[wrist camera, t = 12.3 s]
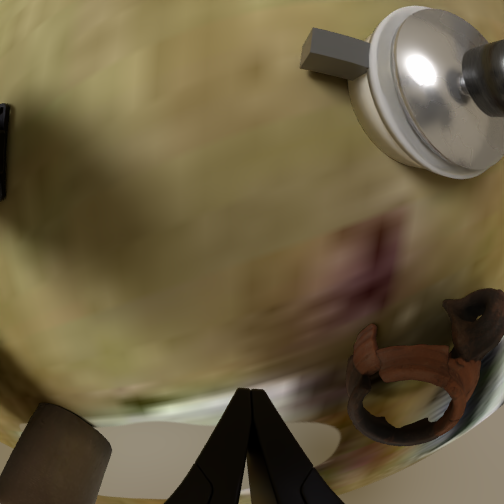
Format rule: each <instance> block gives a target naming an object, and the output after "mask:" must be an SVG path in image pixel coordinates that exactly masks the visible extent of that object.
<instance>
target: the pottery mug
mask: <svg viewBox="0 0 504 504" xmlns="http://www.w3.org/2000/svg"><path fill="white" fill-rule="evenodd" d="M443 307H444V308H445V310H446V311H447V312H448V315H449V317H450V320H451V324H452V338H453V344H454V347H453V349H452V351H450V352H449V346H447V345H426V344H418V345H412V346H406V345H403V346H391V347H386V348H382V349H378V345H377V342H376V335H377V326H376V325H374V324H370V325H368V326H367V327H366V328H365V329H364V330H363V331H361V332H360V333H359V334H358V336H357V340H356V343H355V344H354V346H353V347H354V352H353V355H351V356H350V357H349V359H348V365H347V371H346V372H347V373H346V389H347V394H348V396H349V401H348V406H347V408H348V414H349V417H350V419H351V420H352V421H353V424H354V425H355V427H356V429H358V430H359V431H360V432H361V433H362V434H363V435H365V436H367V437H368V438H370V439H372V440H374V441H376V442H380V443H383V444H387V445H394V446H412V445H418V444H422V443H426V442H429V441H432V440H434V439H436V438H438V437H439V436H441V435H443V434H445V433H446V432H448V431H449V430H450V429H452V428H453V427H454V426H455V425H456V424H457V423H458V421H459V419H460V418H461V417H462V415H463V413H464V410H465V407H466V402H467V401H468V400H469V398H470V397H471V395H472V394H473V391H474V389H475V387H476V385H477V382H478V379H479V375H480V367H481V360H482V359H483V357H484V356H485V355H486V354H487V353H488V352H489V351H491V350H492V349H493V348H494V347H496V346H497V345H498V343H499V342H500V340H501V339H502V337H503V335H504V292H503V291H502V290H500V289H499V290H496V289H492V288H486V289H480V290H477V291H475V292H473V293H471V294H469V295H467V296H466V297H464V298H462V299H456V300H453V299H448V300H444V301H443ZM481 315H482V316H481ZM478 316H481V317H480V318H479V319H478V320H476V319H477V317H478ZM379 370H380V371H379ZM377 371H379V376H380V377H381V378H382V380H383V381H384V382H385V383H389V382H396V381H403V380H418V381H424V382H429V383H432V384H434V385H436V386H440V387H443V388H444V389H445V390H446V391H447V392H448V393H449V395H450V396H451V398H452V400H451V402H450V404H449V406H448V409H447V410H446V411H445V413H444V415H443V417H441V418H440V419H439V420H438V421H435V422H429V421H428V418H424V419H421V420H419V421H417V422H415V423H412V424H409V425H405V426H403V427H401V428H395V427H394V426H392V425H391V424H389V423H388V422H387V421H386V419H385V417H376V416H373V415H371V414H370V413H369V412H368V411H367V410H366V409H365V408H364V407H363V404H362V401H363V399H364V397H365V396H366V395H367V394H368V393H369V392H370V390H371V382H370V377H369V376H371V375H373V374H375V373H376V372H377Z"/></svg>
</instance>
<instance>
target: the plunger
mask: <svg viewBox="0 0 504 504" xmlns="http://www.w3.org/2000/svg"><path fill="white" fill-rule="evenodd" d="M390 67H391V74H392V79H393V83H394V87H395V90H396V93H397V96H398V99H399V101H400V104H401V106H402V108H403V111H404V113H405V114H406V116H407V118H408V120H409V122H410V124H411V125H412V127H413V128H414V130H415V131H416V133H417V134H418V135H419V137H420V138H421V139H422V141H423V142H424V143H425V144H426V145H427V146H428V147H429V148H430V149H431V150H432V151H433V152H434V153H435V154H436V155H438V156H439V157H440V158H442V159H443V160H445V161H447V162H449V163H451V164H453V165H455V166H459V167H463V168H468V169H475V170H479V169H485V168H489V167H491V166H492V165H494V164H496V163H497V162H498V161H499V160H500V159H501V158H502V157H503V155H504V40H500V41H496V42H492V43H488V42H487V40H486V39H485V38H484V37H483V36H482V35H481V34H480V33H479V32H478V31H477V30H476V29H475V28H474V27H473V26H472V25H470V24H469V23H468V22H466V21H465V20H464V19H462V18H460V17H458V16H457V15H455V14H452V13H450V12H447V11H444V10H440V9H423V10H419V11H417V12H415V13H413V14H412V15H410V16H409V17H407V18H406V19H405V20H404V21H403V22H401V23H400V25H399V26H398V27H397V29H396V31H395V33H394V35H393V38H392V42H391V48H390Z"/></svg>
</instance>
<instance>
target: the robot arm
mask: <svg viewBox="0 0 504 504" xmlns="http://www.w3.org/2000/svg"><path fill="white" fill-rule="evenodd" d="M9 110H10V107H9V104H6V103H2V104H0V201H2V200H4V199H5V196H6V187H5V161H6V140H7V128H8V118H9ZM246 458H247V466H248V476H249V485H250V494H251V502H252V504H344V502H342V500H341V499H340V498H339V497H338V496H337V495H336V494H335V493H334V492H333V491H332V490H331V489H330V487H329V486H328V485H327V484H326V482H325V481H324V480H323V478H322V477H321V476H320V474H319V473H318V472H317V470H316V469H315V468H314V467H313V464H312V463H311V462H310V460H309V459H308V457H307V456H306V454H305V453H304V452H303V450H302V448H301V447H300V445H299V444H298V442H297V441H296V440H295V438H294V436H293V435H292V433H291V432H290V430H289V429H288V427H287V426H286V424H285V422H284V421H283V419H282V418H281V416H280V415H279V413H278V411H277V410H276V408H275V407H274V405H273V404H272V402H271V400H270V399H269V397H268V395H267V394H266V392H265V391H264V390H263V389H251V390H250V389H249V388H238V389H237V390H236V392H235V394H234V395H233V397H232V399H231V401H230V403H229V404H228V406H227V408H226V410H225V412H224V413H223V415H222V417H221V419H220V420H219V422H218V424H217V426H216V427H215V429H214V431H213V433H212V434H211V436H210V438H209V440H208V441H207V443H206V445H205V446H204V448H203V450H202V451H201V453H200V455H199V456H198V458H197V460H196V461H195V464H193V466H192V468H191V469H190V471H189V472H188V474H187V476H186V477H185V478H184V480H183V481H182V483H181V484H180V485H179V487H178V488H177V489H176V490H175V491H174V493H173V494H172V495H171V496H170V497H169V498H168V499H167V501H166V502H165V503H164V504H238V503H239V497H240V491H241V486H242V479H243V473H244V468H245V462H246Z"/></svg>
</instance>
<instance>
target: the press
mask: <svg viewBox="0 0 504 504" xmlns="http://www.w3.org/2000/svg"><path fill="white" fill-rule="evenodd" d="M423 9H432V8H428V7H423V6H407V7H403V8H400V9H398V10H396V11H394V12H392V13H391V14H390V15H388V16H387V17H386V18H385V19H383V20H382V21H381V22H380V23H379V24H378V25H377V27H376V28H375V29H374V31H373V33H372V34H371V35H369V36H368V37H367V38H366V39H365V40H364V41H362V40H359V39H355V38H352V37H349V36H345V35H341V34H338V33H334V32H330V31H326V30H322V29H318V28H312V30H311V32H310V33H309V35H308V37H307V39H306V41H305V43H304V44H303V46H302V53H301V62H300V69H305V70H310V71H315V72H320V73H324V74H328V75H332V76H336V77H340V78H344V79H348V90H349V95H350V100H351V104H352V107H353V110H354V112H355V115H356V117H357V119H358V121H359V123H360V125H361V126H362V128H363V130H364V131H365V133H366V134H367V135H368V137H369V138H370V139H371V140H372V142H373V143H374V144H375V145H376V146H377V147H378V148H379V149H380V150H381V151H383V152H384V153H385V154H386V155H388V156H389V157H391V158H392V159H394V160H396V161H398V162H400V163H402V164H405V165H408V166H412V167H417V168H422V169H426V170H428V171H430V172H433V173H435V174H438V175H442V176H446V177H450V178H455V179H467V178H472V177H475V176H478V175H480V174H481V173H483V172H485V171H486V170H487V169H488V168H485V169H479V170H475V169H468V168H463V167H459V166H455V165H453V164H451V163H449V162H447V161H445V160H443V159H442V158H440V157H439V156H438V155H436V154H435V153H434V152H433V151H432V150H431V149H430V148H429V147H428V146H427V145H426V144H425V143H424V142H423V141H422V139H421V138H420V137H419V135H418V134H417V133H416V131H415V130H414V128H413V127H412V125H411V124H410V122H409V120H408V118H407V116H406V114H405V113H404V111H403V108H402V106H401V104H400V101H399V99H398V96H397V93H396V90H395V87H394V83H393V79H392V74H391V67H390V48H391V42H392V38H393V35H394V33H395V31H396V29H397V27H398V26H399V25H400V23H401V22H403V21H404V20H405V19H406V18H407V17H409V16H410V15H412V14H413V13H415V12H417V11H419V10H423Z"/></svg>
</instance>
